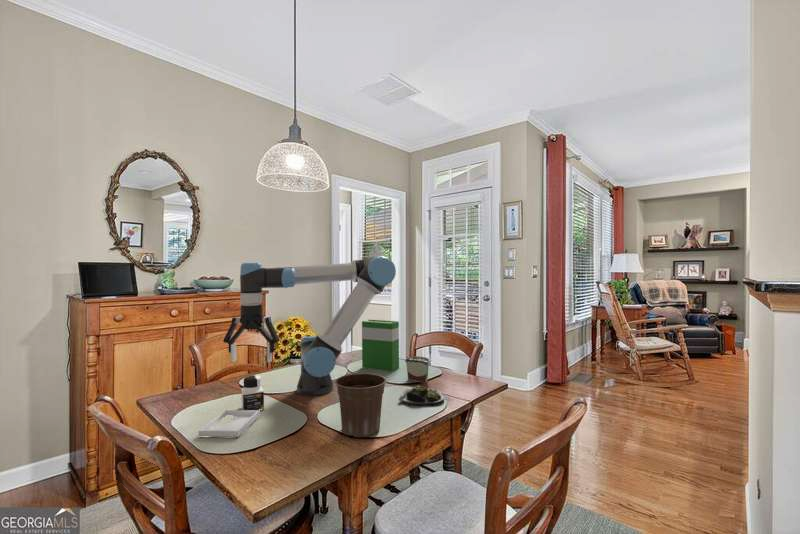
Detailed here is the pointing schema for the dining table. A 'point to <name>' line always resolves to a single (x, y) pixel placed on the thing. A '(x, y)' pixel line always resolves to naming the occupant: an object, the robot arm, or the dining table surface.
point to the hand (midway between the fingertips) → (251, 361)
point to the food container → (417, 368)
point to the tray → (230, 424)
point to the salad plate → (421, 396)
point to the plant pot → (360, 403)
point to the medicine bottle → (252, 393)
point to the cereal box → (380, 345)
